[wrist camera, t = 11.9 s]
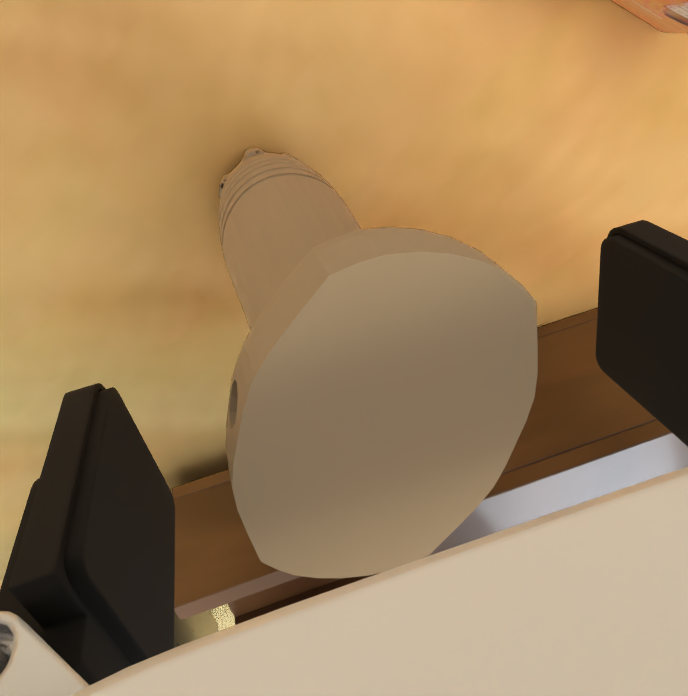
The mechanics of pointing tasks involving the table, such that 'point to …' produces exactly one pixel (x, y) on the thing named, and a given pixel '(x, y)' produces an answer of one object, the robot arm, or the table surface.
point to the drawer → (225, 563)
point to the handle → (363, 376)
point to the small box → (660, 13)
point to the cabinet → (572, 438)
